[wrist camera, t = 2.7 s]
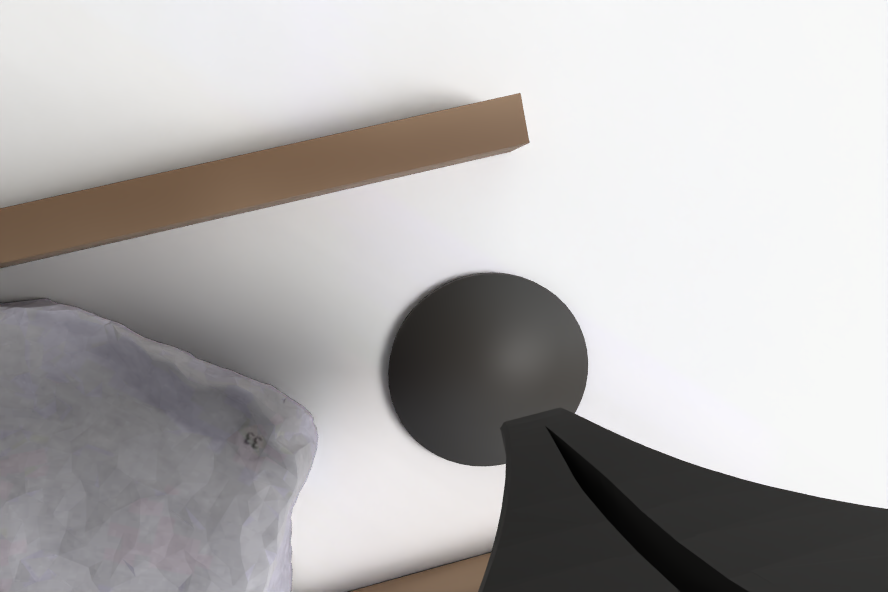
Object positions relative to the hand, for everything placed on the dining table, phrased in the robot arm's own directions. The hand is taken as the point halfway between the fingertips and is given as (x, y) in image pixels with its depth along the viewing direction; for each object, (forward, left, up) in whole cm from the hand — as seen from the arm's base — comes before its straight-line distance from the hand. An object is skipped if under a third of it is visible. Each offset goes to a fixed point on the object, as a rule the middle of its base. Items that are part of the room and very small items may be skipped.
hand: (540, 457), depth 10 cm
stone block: (0, +12, -6) cm, 13 cm away
